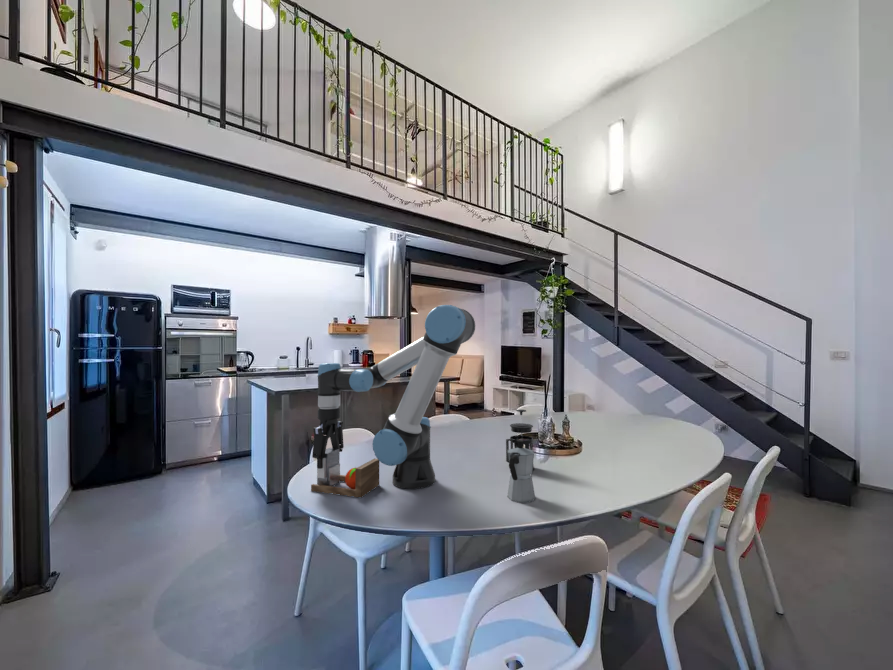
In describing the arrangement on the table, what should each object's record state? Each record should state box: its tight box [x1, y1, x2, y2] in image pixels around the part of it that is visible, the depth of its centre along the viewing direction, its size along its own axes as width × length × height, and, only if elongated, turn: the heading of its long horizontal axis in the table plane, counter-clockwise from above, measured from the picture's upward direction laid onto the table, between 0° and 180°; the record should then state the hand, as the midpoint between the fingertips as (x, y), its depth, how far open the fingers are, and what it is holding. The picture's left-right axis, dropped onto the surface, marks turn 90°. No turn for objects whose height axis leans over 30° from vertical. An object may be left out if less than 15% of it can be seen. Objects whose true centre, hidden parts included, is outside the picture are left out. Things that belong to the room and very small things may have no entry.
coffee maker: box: [506, 439, 536, 504], centre depth 120 cm, size 15×9×18 cm, turn 149°
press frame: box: [310, 458, 380, 498], centre depth 130 cm, size 19×12×9 cm, turn 71°
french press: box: [505, 409, 535, 472], centre depth 151 cm, size 12×9×23 cm
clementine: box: [344, 467, 357, 489], centre depth 129 cm, size 8×7×7 cm
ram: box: [316, 447, 341, 487], centre depth 132 cm, size 5×7×12 cm, turn 161°
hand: (328, 473), depth 133 cm, fingers closed on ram, 7 cm apart
